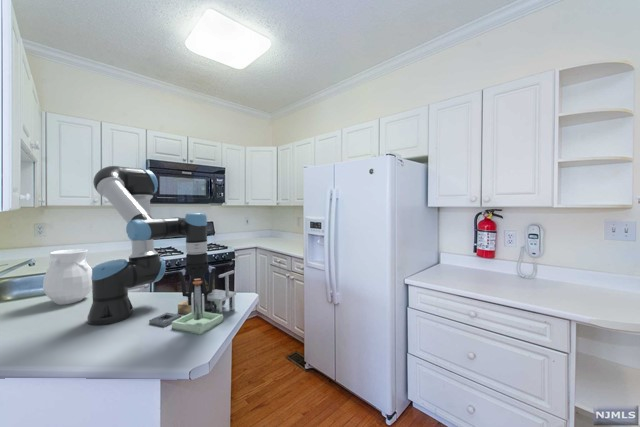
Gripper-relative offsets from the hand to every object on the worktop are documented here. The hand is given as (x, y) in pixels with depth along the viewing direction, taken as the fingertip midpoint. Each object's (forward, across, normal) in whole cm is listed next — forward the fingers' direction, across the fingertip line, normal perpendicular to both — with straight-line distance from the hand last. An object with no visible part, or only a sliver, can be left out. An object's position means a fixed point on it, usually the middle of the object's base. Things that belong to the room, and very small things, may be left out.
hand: (198, 311), depth 104 cm
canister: (+5, +3, +28) cm, 29 cm away
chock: (+5, -4, +17) cm, 18 cm away
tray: (+5, 0, 0) cm, 5 cm away
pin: (+3, 0, 0) cm, 3 cm away
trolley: (+5, +8, +11) cm, 14 cm away
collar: (+5, -12, +9) cm, 16 cm away
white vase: (+5, -57, +56) cm, 80 cm away
